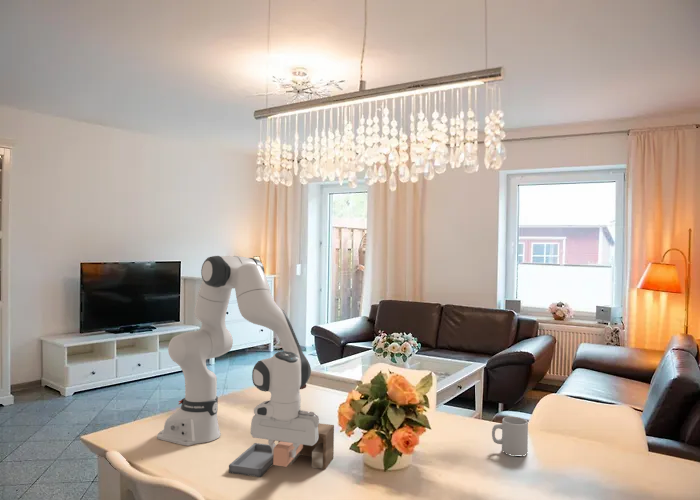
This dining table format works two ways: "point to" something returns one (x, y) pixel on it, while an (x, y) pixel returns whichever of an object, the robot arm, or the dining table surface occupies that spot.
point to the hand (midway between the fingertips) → (283, 455)
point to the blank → (284, 453)
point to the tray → (253, 461)
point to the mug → (513, 435)
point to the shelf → (320, 447)
